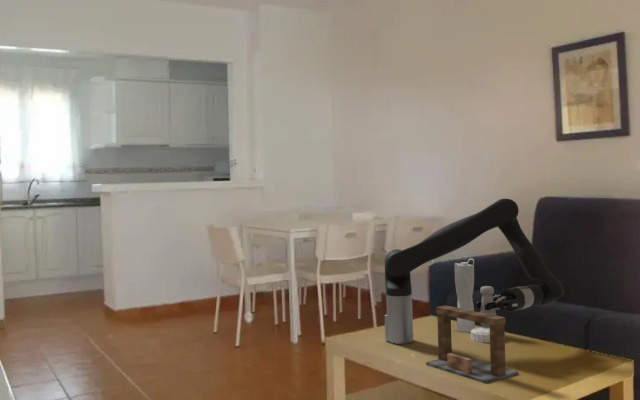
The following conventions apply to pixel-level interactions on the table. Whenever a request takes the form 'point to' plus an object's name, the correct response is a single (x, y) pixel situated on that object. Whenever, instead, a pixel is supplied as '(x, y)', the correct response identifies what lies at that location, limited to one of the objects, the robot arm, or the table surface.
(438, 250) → the robot arm
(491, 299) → the salt shaker
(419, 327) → the table surface
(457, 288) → the skyscraper
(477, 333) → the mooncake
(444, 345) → the gateway
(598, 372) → the table surface
